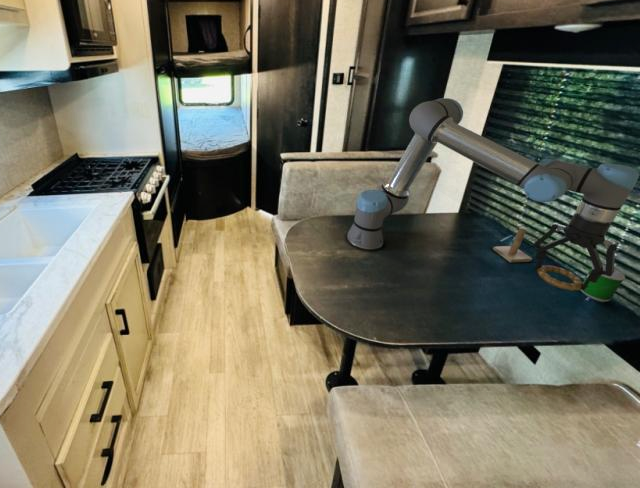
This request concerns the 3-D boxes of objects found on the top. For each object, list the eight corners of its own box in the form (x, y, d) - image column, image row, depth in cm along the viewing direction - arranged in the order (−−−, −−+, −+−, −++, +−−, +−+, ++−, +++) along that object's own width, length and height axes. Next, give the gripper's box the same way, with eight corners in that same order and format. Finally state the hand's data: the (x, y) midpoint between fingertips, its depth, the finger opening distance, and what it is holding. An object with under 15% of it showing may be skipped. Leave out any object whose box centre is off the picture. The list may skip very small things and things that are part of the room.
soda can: (612, 298, 109) (630, 271, 104) (604, 306, 106) (622, 279, 101) (582, 285, 115) (598, 259, 110) (574, 292, 112) (590, 266, 106)
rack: (492, 249, 135) (503, 222, 130) (512, 248, 136) (523, 221, 130) (510, 262, 127) (522, 234, 121) (531, 261, 128) (544, 233, 122)
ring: (528, 269, 103) (530, 264, 103) (557, 268, 104) (560, 263, 103) (559, 292, 94) (561, 287, 93) (591, 290, 95) (594, 285, 94)
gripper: (537, 204, 96) (511, 262, 105) (653, 240, 79) (608, 305, 88) (545, 198, 100) (519, 254, 109) (657, 231, 82) (614, 294, 92)
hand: (559, 277), depth 99 cm, fingers closed on ring, 10 cm apart
